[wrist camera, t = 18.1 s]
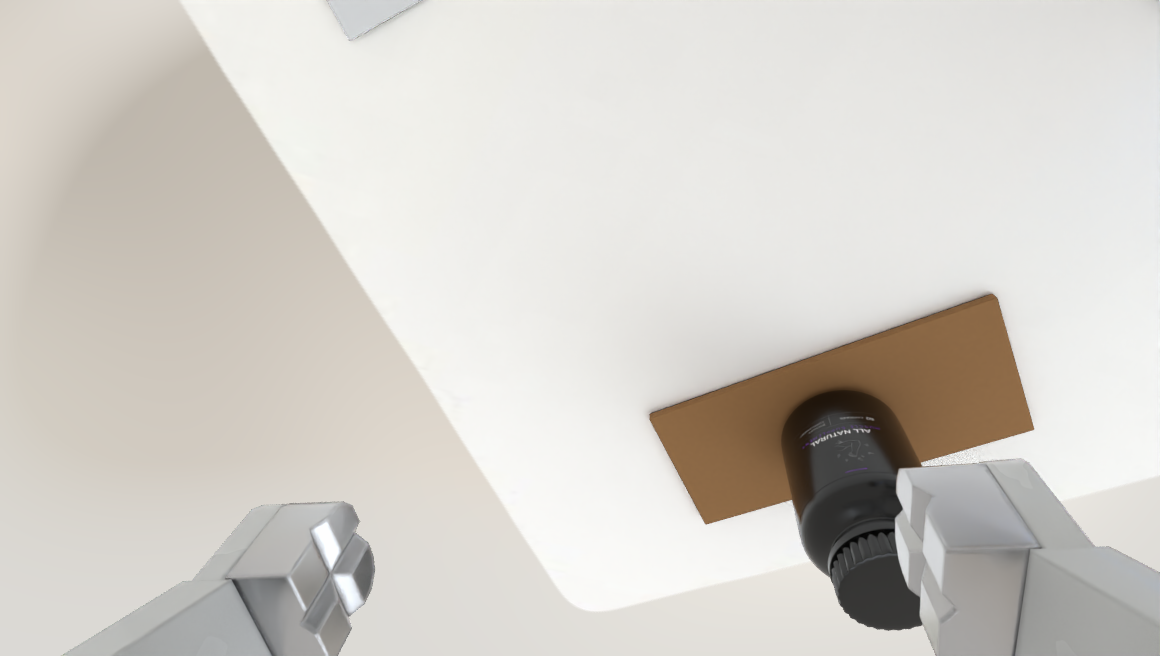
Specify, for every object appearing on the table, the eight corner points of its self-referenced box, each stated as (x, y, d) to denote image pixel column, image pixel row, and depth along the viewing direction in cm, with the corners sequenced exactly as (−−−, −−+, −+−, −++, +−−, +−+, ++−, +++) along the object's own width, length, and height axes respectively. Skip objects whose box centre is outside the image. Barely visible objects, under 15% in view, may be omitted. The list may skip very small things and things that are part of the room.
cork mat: (992, 293, 35) (997, 297, 35) (1029, 424, 38) (1034, 430, 38) (649, 413, 41) (648, 419, 41) (705, 518, 44) (705, 525, 44)
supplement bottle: (830, 364, 38) (892, 507, 27) (923, 423, 39) (1020, 584, 28) (754, 444, 41) (783, 601, 30) (843, 498, 42) (901, 669, 31)
